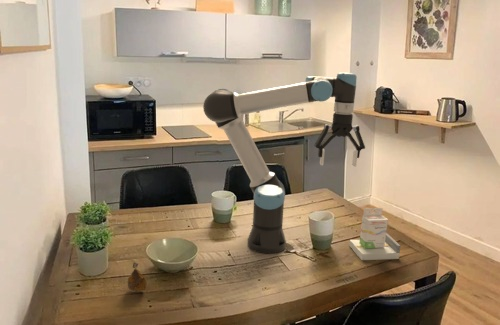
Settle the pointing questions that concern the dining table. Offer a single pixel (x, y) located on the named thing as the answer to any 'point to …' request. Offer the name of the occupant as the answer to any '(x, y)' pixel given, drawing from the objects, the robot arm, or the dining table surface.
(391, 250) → the dock
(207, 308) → the dining table surface
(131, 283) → the brown pointed lump
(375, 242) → the ink box
